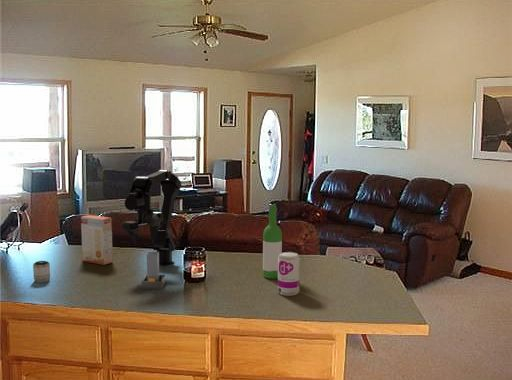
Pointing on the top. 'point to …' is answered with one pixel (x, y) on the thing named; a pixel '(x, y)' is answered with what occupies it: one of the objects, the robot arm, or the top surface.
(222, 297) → the top surface
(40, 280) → the camera lens
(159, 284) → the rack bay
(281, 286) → the supplement can
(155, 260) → the grey rectangular prism
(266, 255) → the wine bottle
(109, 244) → the cracker box
